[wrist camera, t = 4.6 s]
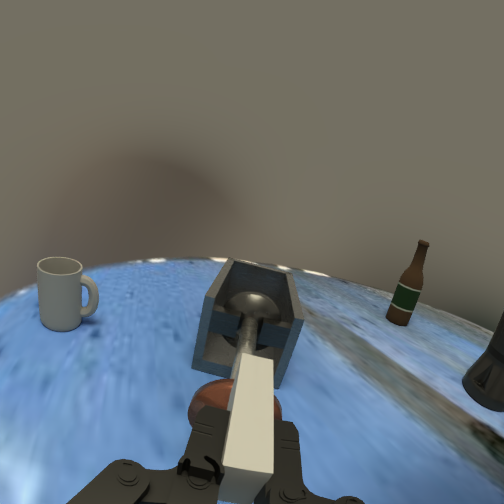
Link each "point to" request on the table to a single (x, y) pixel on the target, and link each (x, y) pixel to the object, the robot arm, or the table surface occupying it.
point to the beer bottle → (408, 289)
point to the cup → (64, 293)
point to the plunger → (238, 350)
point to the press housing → (226, 320)
